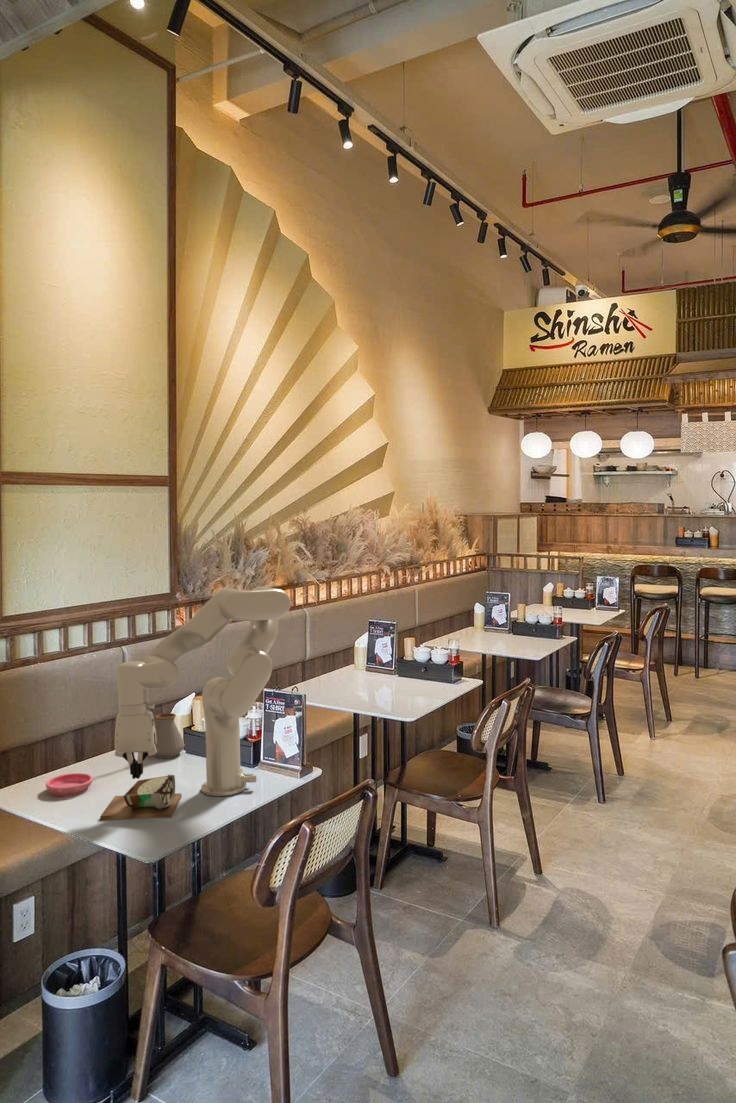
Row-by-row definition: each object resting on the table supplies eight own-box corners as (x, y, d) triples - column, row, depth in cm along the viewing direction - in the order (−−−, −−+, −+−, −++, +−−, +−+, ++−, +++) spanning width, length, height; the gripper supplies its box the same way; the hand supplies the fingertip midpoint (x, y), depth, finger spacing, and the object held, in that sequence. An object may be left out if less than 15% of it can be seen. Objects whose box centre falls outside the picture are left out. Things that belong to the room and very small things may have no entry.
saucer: (78, 780, 224) (78, 769, 224) (101, 789, 216) (101, 778, 216) (37, 792, 214) (37, 781, 214) (60, 802, 207) (60, 791, 206)
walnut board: (181, 796, 208) (181, 793, 208) (171, 817, 195) (171, 813, 194) (115, 799, 207) (114, 795, 207) (100, 820, 193) (100, 816, 193)
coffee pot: (171, 746, 254) (170, 702, 253) (192, 753, 246) (190, 708, 246) (113, 763, 238) (112, 716, 238) (133, 771, 231) (131, 722, 230)
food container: (125, 821, 194) (163, 816, 193) (121, 798, 193) (158, 794, 192) (144, 799, 206) (179, 795, 205) (139, 778, 206) (175, 773, 204)
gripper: (165, 704, 204) (168, 770, 205) (109, 706, 203) (112, 773, 204) (159, 711, 196) (162, 780, 197) (101, 713, 195) (104, 783, 196)
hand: (136, 776), depth 201 cm, fingers closed
